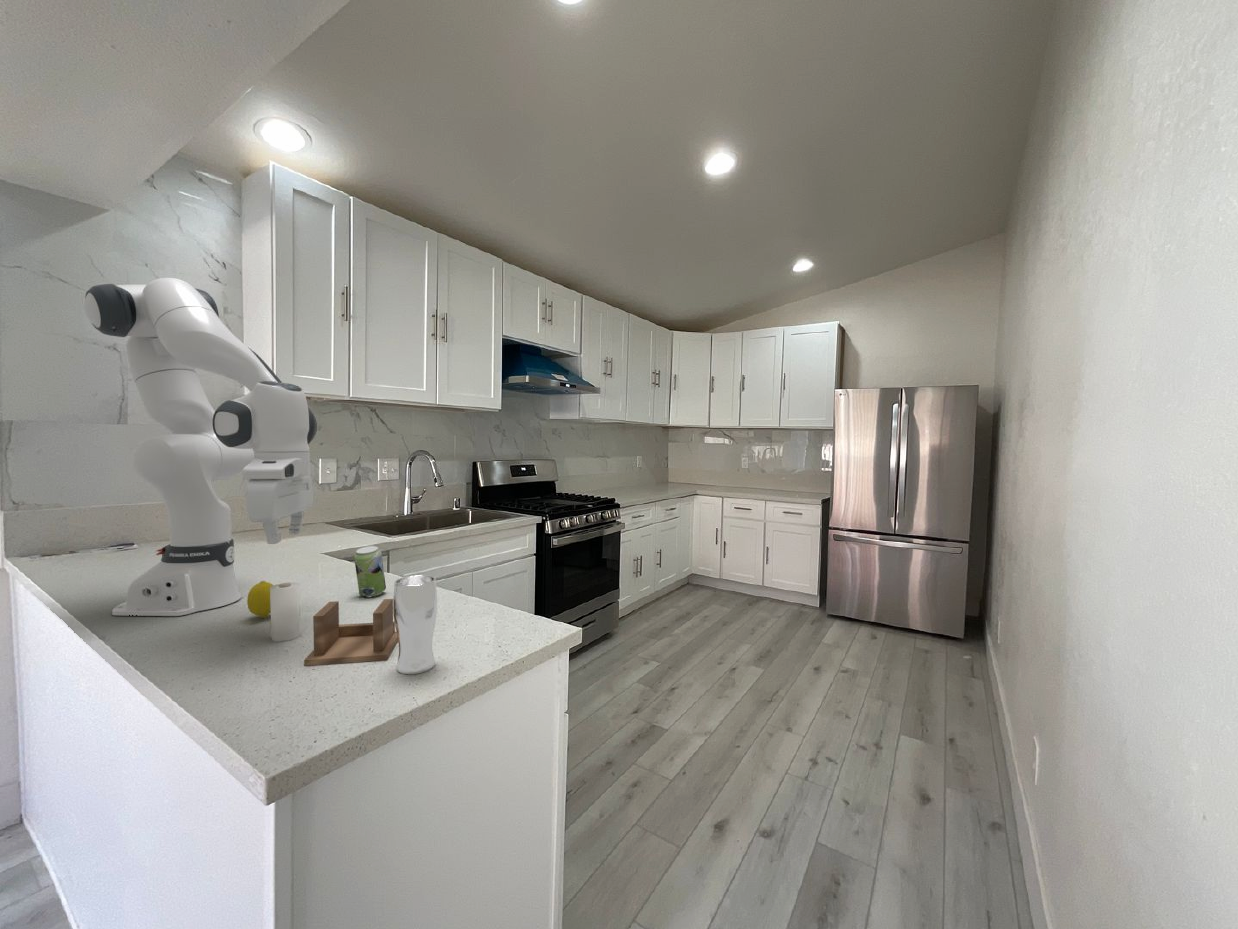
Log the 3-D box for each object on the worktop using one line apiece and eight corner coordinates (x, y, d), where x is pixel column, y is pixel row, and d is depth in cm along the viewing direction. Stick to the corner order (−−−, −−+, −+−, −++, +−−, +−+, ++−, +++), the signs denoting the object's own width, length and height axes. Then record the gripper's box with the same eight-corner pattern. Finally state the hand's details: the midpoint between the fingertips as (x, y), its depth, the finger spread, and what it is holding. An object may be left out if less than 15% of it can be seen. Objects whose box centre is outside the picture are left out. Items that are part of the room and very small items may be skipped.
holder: (304, 665, 88) (303, 619, 87) (327, 640, 99) (326, 599, 98) (387, 660, 91) (386, 615, 90) (400, 636, 101) (400, 596, 101)
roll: (266, 642, 98) (265, 589, 97) (277, 632, 102) (276, 581, 102) (294, 640, 98) (293, 587, 98) (304, 631, 103) (303, 580, 103)
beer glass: (402, 658, 91) (401, 574, 91) (442, 657, 92) (441, 574, 91) (387, 676, 84) (386, 586, 84) (430, 675, 85) (430, 585, 84)
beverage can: (390, 591, 130) (390, 544, 129) (374, 600, 123) (373, 550, 122) (367, 590, 131) (366, 543, 130) (349, 599, 123) (348, 550, 123)
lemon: (246, 617, 111) (245, 580, 110) (277, 611, 114) (276, 576, 114) (248, 624, 106) (248, 586, 106) (280, 618, 110) (280, 581, 109)
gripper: (288, 463, 108) (289, 529, 109) (237, 470, 88) (239, 550, 89) (321, 463, 109) (322, 528, 110) (278, 470, 89) (280, 548, 90)
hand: (285, 538), depth 99 cm, fingers open, 8 cm apart
